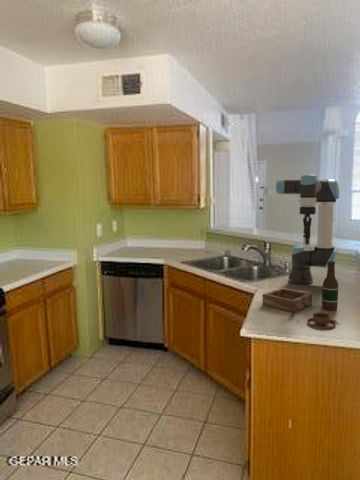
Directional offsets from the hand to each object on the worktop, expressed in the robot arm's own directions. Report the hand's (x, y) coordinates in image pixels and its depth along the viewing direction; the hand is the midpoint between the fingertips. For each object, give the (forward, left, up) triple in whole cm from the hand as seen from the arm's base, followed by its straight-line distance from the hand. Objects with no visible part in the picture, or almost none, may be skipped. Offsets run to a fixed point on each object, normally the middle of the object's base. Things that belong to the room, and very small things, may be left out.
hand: (306, 248), depth 190 cm
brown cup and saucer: (+18, +15, -31) cm, 38 cm away
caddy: (+6, -7, -30) cm, 31 cm away
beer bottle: (-4, +11, -30) cm, 32 cm away
